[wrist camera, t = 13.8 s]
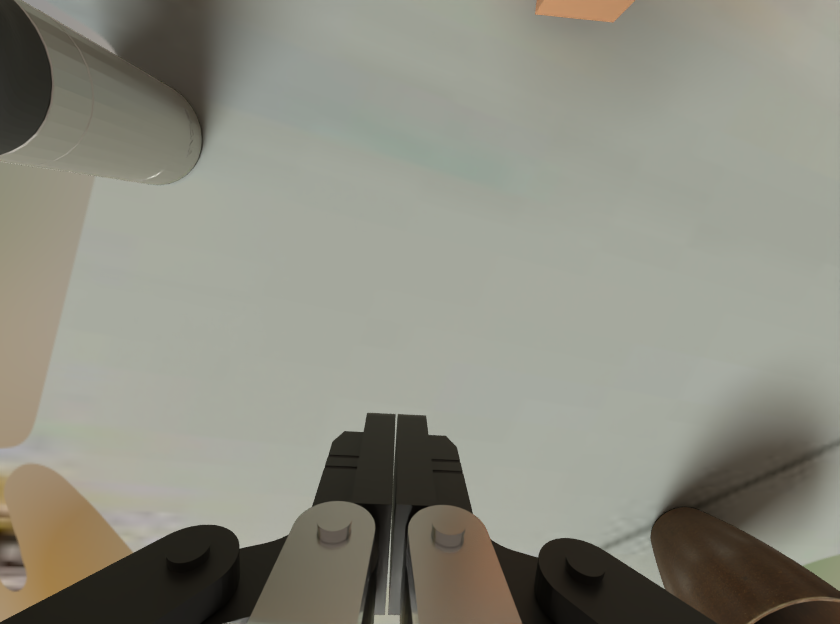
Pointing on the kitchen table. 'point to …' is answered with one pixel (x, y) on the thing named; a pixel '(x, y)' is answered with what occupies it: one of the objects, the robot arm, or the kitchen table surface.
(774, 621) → the plant pot
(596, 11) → the carton
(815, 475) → the kitchen table surface
